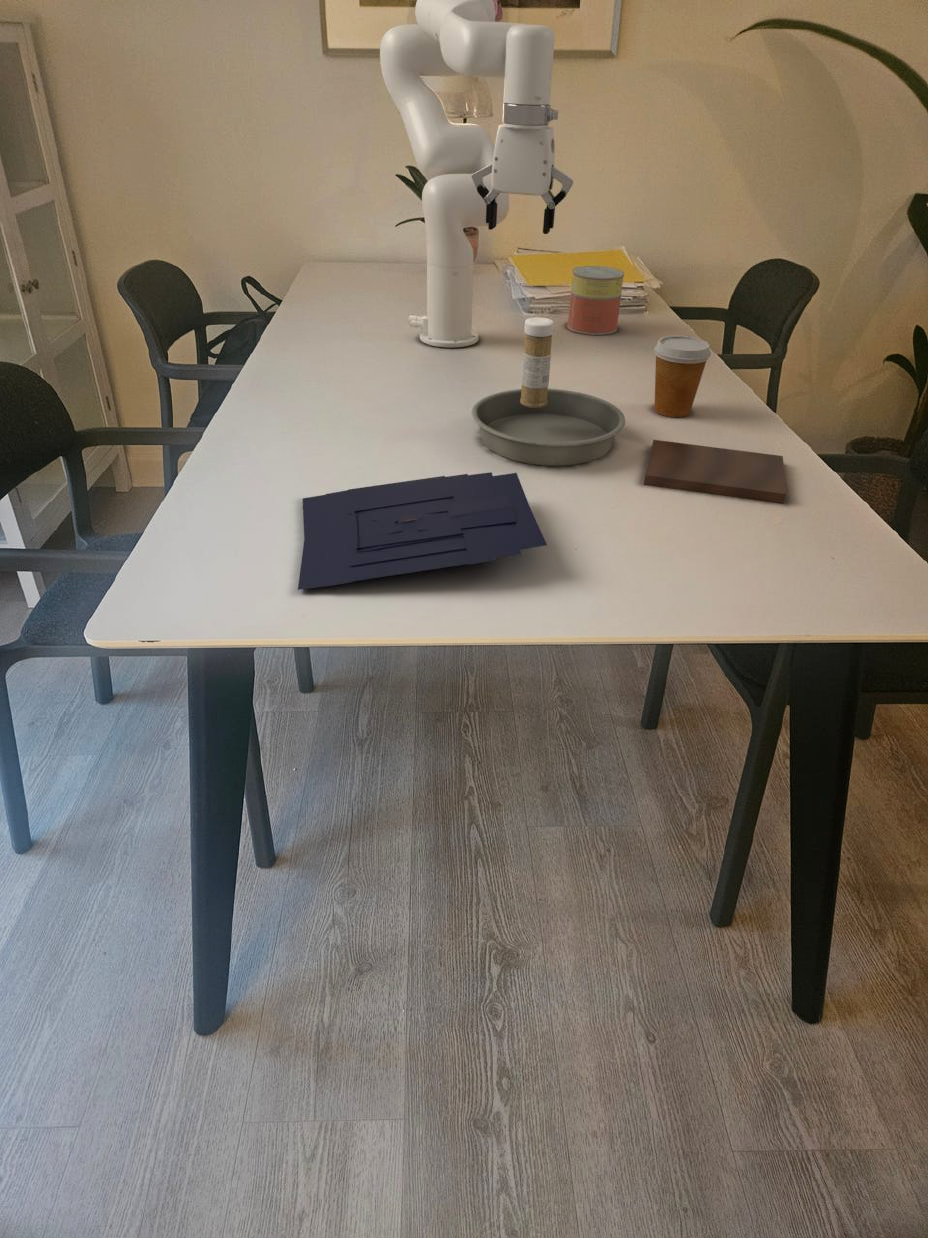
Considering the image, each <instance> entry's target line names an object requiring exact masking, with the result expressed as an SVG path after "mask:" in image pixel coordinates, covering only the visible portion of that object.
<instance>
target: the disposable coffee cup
mask: <svg viewBox="0 0 928 1238" xmlns="http://www.w3.org/2000/svg"><path fill="white" fill-rule="evenodd" d="M710 349H711V348H710V344H709V342H708V341H706V340H704V339H701V338H698V337H695V336H687V335H667V336H663V337H660V338H659V339H658V340H657V343H656V345H654V348H653V351H654V354H655V373H654V375H655V376H654V377H655V379H654V385H655V386H654V405H653V406H654V407H653V409H654V411H655V412H656V413H657V414H659V415H662V416H665V417H669V418H683V417H688V416H689V415H690V414H691V411H692V408H693V405H694V401H695V398H696V396H697V392H698V390H699V389H698V388H699V386H700V383H701V380H702V377H703V373H704V370H705V366H706V364H707V361H708V360H709V358H710V357H711V355H712V352H711V351H710Z"/></svg>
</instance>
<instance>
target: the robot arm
mask: <svg viewBox="0 0 928 1238" xmlns="http://www.w3.org/2000/svg"><path fill="white" fill-rule="evenodd" d="M415 2H416V3H415V7H414V12H415V15H414V16H415V20H416V23H417V24H415V23H413V24H412V23H411V24H409V23H408V24H401V25H396V26H393V27H392V28H390V29H388V30H387V31H386V32H385V33H384V35H382V38H381V42H380V46H379V60H380V61H379V63H380V70H381V74H382V78H383V82H384V85H385V87H386V91H388V93H389V97H390V99H391V100H392V102H393V103H394V105H395V107H396V109H397V111H398V113H399V115H400V117H401V119H402V122H403V125H404V128H405V132H406V134H407V138H408V141H409V144H410V148H411V150H412V153H413V157H414V159H415V160H414V161H415V163H416V166H417V168H418V170H419V171H420V173H421V174H422V175H423V176H425V177H427V178H430V179H429V180H427V182H426V183H425V184H424V187H423V189H422V193H421V204H422V205H421V206H422V211H423V218H424V224H425V237H426V315H422V316H419V315H411V314H410V315H408V325H410V328H419V329H421V331H419V340H420V341H421V342H422V343H424V344H426V345H428V346H432V347H438V348H449V349H451V348H452V349H453V348H464V347H465V348H466V347H469V346H472V345H475V344H476V343H477V342H478V341H479V333H478V332H477V331H476V330H474V329H472V327H473V326H472V325H473V294H474V293H473V289H474V259H475V257H474V256H475V255H474V249H473V246H472V243H471V242H470V240H469V238H468V237H467V235H466V234H465V232H464V229H465V228H471V227H472V228H474V227H476V228H477V227H488V230H489V231H491V230H493V229H495V228H496V227H497V225H498V224H500V223H502V222H503V221H505V219H506V218H507V216H508V215H509V211H510V195H519V196H520V195H523V196H540V197H541V198H542V200H543V201H544V203H545V204H546V208H544V210H543V211H544V212H543V223H542V224H543V225H542V233H543V235H548V234H549V233H550V232H551V229H554V226H555V225H554V224H555V213H556V207H557V206H558V205H559V203H561V202H562V201H563V200H564V199H565V198H566V197H567V195H568V193H569V192H570V190H571V188H572V187H573V185H574V179H572V178H571V177H570V176H568V175H567V174H566V173H564V172H563V171H561V170H559V169H558V168H556V167H555V133H554V127H552V126H549V124H550V122H551V121H554V120H555V121H557V120H558V119H559V110H557V109H554V108H552V105H551V93H552V81H553V65H554V52H555V32H554V30H553V29H552V28H551V27H550V26H548V25H543V24H528V23H522V22H505V21H496V7H495V2H494V0H416V1H415ZM462 75H463V76H464V77H469V78H502V79H504V83H503V104H502V124H499V125H498V127H497V132H496V137H495V143H494V141H493V139H492V136H491V135H490V133H489V132H488V131H487V129H486V128H485V127H483V126H482V125H480V124H477V123H456V122H455V123H454V122H452V121H450V120H449V118H448V115H447V113H446V109H445V106H444V104H443V103H444V102H442V100H441V98H440V97H439V95H438V94H437V92H436V91H435V90H434V89H433V88H432V87H431V86H430V85H429V84H428V83H426V82H425V81H424V80H423V79H422V78H423V77H424V78H425V77H426V78H455V77H460V76H462ZM555 180H556V181H557V182H559V183H560V184H561V188H560V190H559V192H558V193H557V194H556V195H554V192H552V189H553V188H554V181H555Z"/></svg>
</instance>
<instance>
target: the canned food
mask: <svg viewBox="0 0 928 1238" xmlns="http://www.w3.org/2000/svg"><path fill="white" fill-rule="evenodd" d="M624 276H625V272H624V271H623V270H621V269H618V268H615V267H609V266H603V265H601V266H600V265H582V266H578V267H575V268H573V269H572V277H571V287H570V295H569V296H570V297H569V308H568V319H567V325H566V327H567V329H569V330H570V331H572V332H574V333H578V334H583V335H589V336H592V335H593V336H605V335H611V334H613V333H616V332H617V331H618V323H619V315H620V308H621V299H622V291H623V284H624Z"/></svg>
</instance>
